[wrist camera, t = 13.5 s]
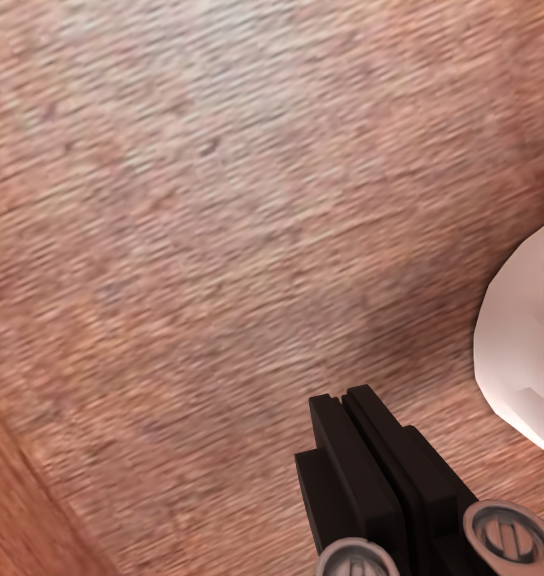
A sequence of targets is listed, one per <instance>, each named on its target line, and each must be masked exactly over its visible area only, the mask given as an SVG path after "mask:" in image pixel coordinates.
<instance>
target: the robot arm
mask: <svg viewBox="0 0 544 576" xmlns="http://www.w3.org/2000/svg"><path fill="white" fill-rule="evenodd" d="M309 406H310V412H311V418H312V424H313V430H314V435H315V441H316V447H317V449H313V450H309V451H305V452H301V453H297V454H294V456H295V462H296V468H297V473H298V478H299V483H300V487H301V492H302V496H303V500H304V505H305V509H306V512H307V516H308V520H309V523H310V527H311V531H312V534H313V538H314V542H315V545H316V549H317V553H318V556H319V558H318V561H317V563H316V566H315V572H314V576H544V520H543V519H542V518H541V517H539V516H538V515H536V514H535V513H533V512H532V511H530V510H529V509H527V508H525V507H523V506H520V505H518V504H515V503H513V502H509V501H504V500H500V499H485V500H482V501H479V500H478V499H477V498H476V496H475V495H474V494H473V493H472V492H471V491H470V489H469V488H468V487H467V486H466V485H465V484H464V483H463V481H462V480H461V479H460V478H459V477H458V476H457V474H456V473H455V472H454V471H453V470H452V469H451V468H450V466H449V465H448V464H447V463H446V462H445V461H444V460H443V458H442V457H441V456H440V455H439V454H438V453H437V451H436V450H435V449H434V448H433V447H432V446H431V445H430V443H429V442H428V441H427V440H426V439H425V438H424V436H423V435H422V434H421V433H420V432H419V431H418V430H417V429H416V428H415V427H414V426H412V425H408V426H404V427H402V426H401V425H400V423H399V422H398V421H397V420H396V418H395V417H394V416H393V415H392V414H391V412H390V411H389V410H388V409H387V407H386V406H385V405H384V404H383V402H382V401H381V400H380V399H379V398H378V396H377V395H376V394H375V393H374V391H373V390H372V389H371V388H370V386H369V385H368V384H365V385H361V386H356V387H352V388H348V389H347V394H346V395H342V404H341V403H340V401H339V399H338V398H337V397H334V398H331V397H330V395H329V394H328V393H327V394H323V395H319V396H314V397H310V398H309Z"/></svg>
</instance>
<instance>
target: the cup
mask: <svg viewBox="0 0 544 576" xmlns="http://www.w3.org/2000/svg"><path fill="white" fill-rule="evenodd" d="M474 369H475V380H476V381H477V383H478V385H479V387H480V389H481V391H482V393H483V395H484V397H485V398H486V400H487V401H488V403H489V405H490V406H491V408H492V409H493V411H494V412H495V413H496V414H497V415H498V416H500V417H501V418H502V419H504V420H505V421H506V422H507V423H509V424H510V425H511V426H513V427H514V428H515V429H517V430H518V431H519V432H521V433H522V434H523V435H524V436H526V437H527V438H528V439H530V440H531V441H532V442H534V443H535V444H536V445H538V446H539V447H540V448H542V449H543V450H544V226H543V227H542V228H541V229H539V230H538V231H537V232H535V233H534V234H533V235H531V236H530V237H529V238H527V239H526V240H525V241H523V242H522V243H521V245H520V246H519V247H518V248H517V249H516V251H515V252H514V253H513V254H512V255H511V257H510V258H509V259H508V260H507V261H506V262H505V264H504V265H503V267H502V268H501V269H500V271H499V272H498V273H497V275H496V276H495V277H494V279H493V280H492V282H491V283H490V284H489V286H488V289H487V292H486V295H485V298H484V301H483V304H482V306H481V309H480V313H479V317H478V320H477V324H476V328H475V332H474Z"/></svg>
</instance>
